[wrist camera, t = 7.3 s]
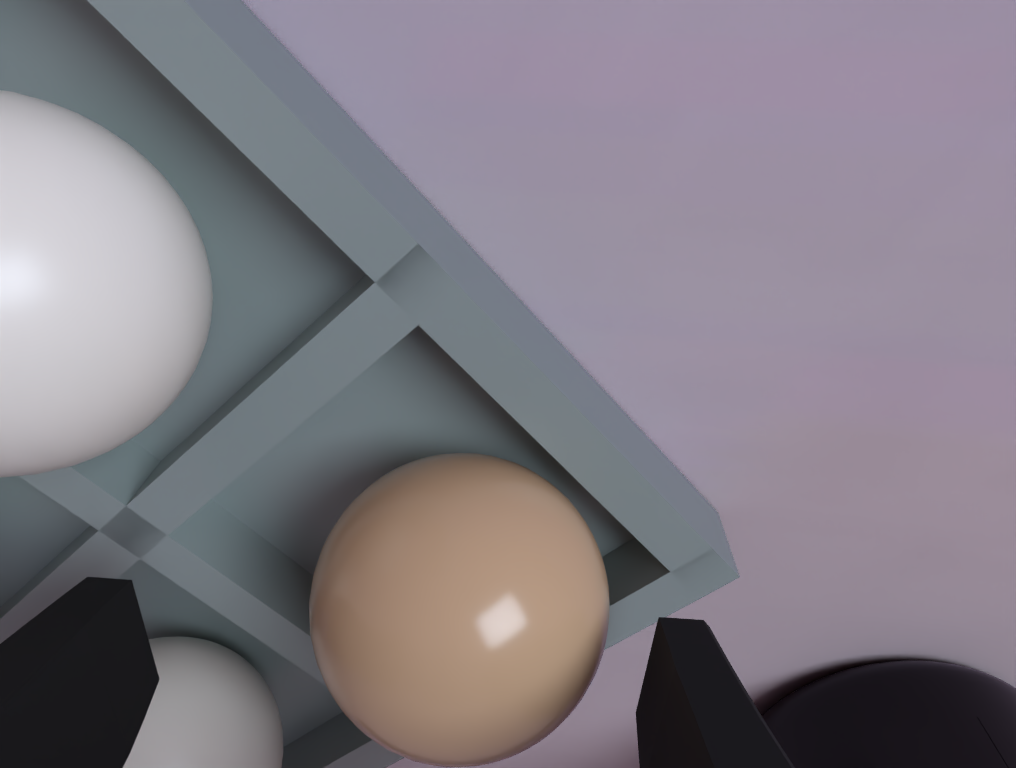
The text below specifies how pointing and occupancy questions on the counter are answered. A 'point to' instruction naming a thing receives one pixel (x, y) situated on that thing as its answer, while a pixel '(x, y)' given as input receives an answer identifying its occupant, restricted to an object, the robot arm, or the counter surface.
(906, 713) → the supplement bottle
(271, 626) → the egg carton
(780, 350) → the counter surface
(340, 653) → the brown egg
